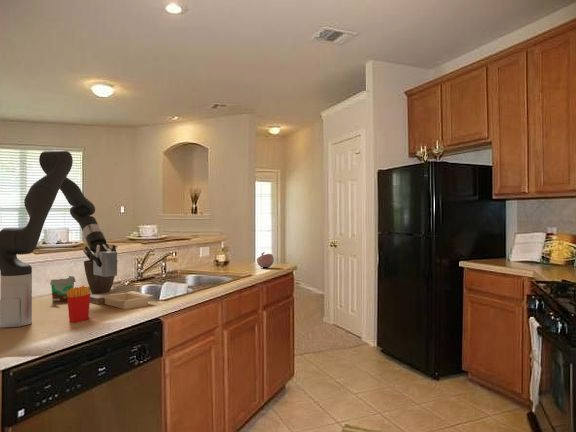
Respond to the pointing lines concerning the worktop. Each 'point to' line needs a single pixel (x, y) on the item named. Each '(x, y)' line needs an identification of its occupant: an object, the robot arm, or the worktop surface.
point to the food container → (61, 288)
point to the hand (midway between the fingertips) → (107, 265)
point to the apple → (265, 260)
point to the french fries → (78, 303)
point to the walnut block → (99, 300)
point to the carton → (127, 300)
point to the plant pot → (97, 279)
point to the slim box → (106, 264)
